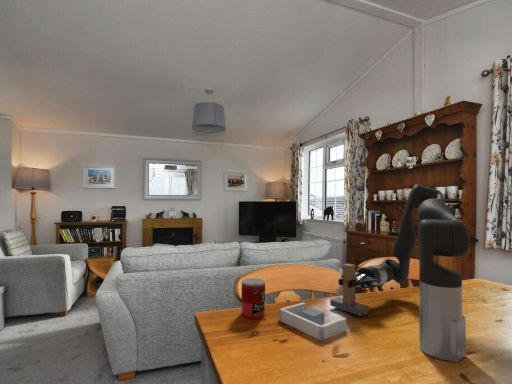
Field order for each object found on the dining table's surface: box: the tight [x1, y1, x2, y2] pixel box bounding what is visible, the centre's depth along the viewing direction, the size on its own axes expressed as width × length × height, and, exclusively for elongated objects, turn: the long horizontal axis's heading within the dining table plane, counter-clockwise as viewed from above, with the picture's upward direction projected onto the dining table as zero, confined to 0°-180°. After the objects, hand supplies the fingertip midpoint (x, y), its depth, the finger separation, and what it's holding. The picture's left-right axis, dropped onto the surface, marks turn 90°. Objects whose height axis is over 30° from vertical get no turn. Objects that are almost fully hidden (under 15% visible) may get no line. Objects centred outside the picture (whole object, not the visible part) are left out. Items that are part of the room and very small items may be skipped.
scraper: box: [329, 263, 370, 317], centre depth 101 cm, size 12×5×15 cm, turn 38°
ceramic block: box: [300, 307, 325, 325], centre depth 90 cm, size 5×5×4 cm
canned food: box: [240, 277, 266, 320], centre depth 97 cm, size 8×8×11 cm
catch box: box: [278, 302, 347, 342], centre depth 89 cm, size 17×11×4 cm, turn 37°
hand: (344, 283), depth 99 cm, fingers closed on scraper, 3 cm apart
